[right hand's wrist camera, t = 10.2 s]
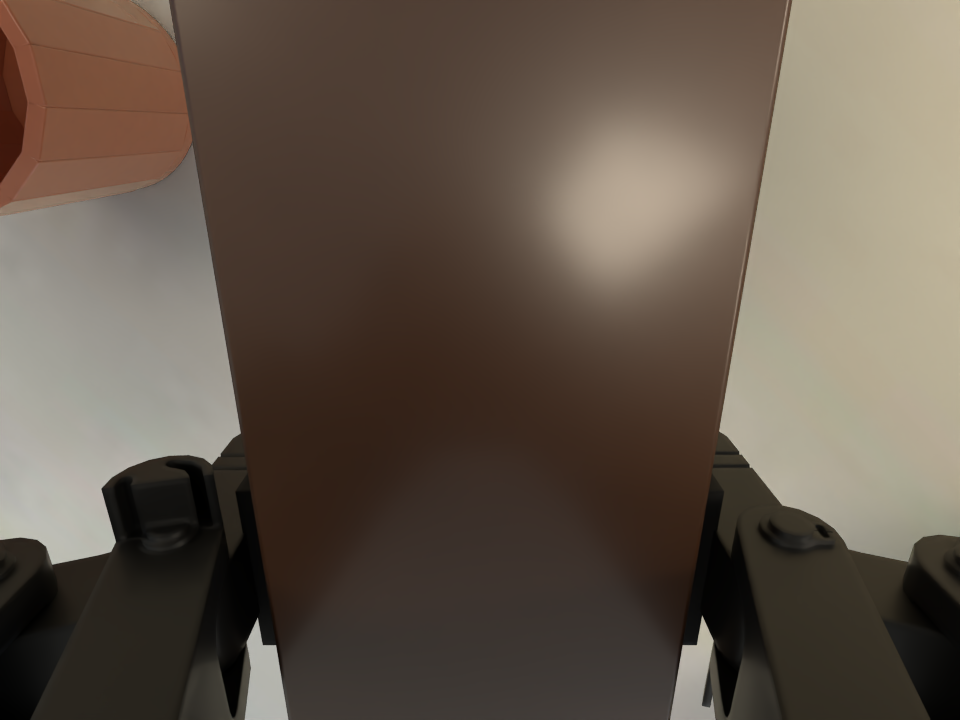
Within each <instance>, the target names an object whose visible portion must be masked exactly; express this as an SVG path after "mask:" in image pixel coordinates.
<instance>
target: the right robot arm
mask: <svg viewBox="0 0 960 720" xmlns="http://www.w3.org/2000/svg"><path fill="white" fill-rule="evenodd" d="M102 493H103V496H104V500H105V504H106V507H107V511H108V514H109V518H110V522H111V525H112V529H113V532H114V536H115V539H116V543H115V545H114V547H113V550H112V552H110V553H106V554H102V555H98V556H93V557H88V558H83V559H78V560H74V561H69V562H64V563H59V564H54V565H52V563H51V560H50V557H49V554H48V551H47V548H46V546H44V545H43V544H42V543H40V542H39V541H38V540H34V539H27V538H13V539H5V540H0V720H245V711H246V703H247V695H248V687H249V678H250V670H251V666H250V659H249V653H248V648H247V640H248V638H249V635H250V633H251V631H252V629H253V627H254V624H255V622H256V620H257V618H258V621H259V626H260V632H261V637H262V643H263V645H276V641H275V635H274V629H273V623H272V617H271V611H270V605H269V599H268V593H267V587H266V581H265V575H264V569H263V563H262V557H261V551H260V545H259V538H258V532H257V526H256V520H255V514H254V508H253V502H252V496H251V490H250V484H249V478H248V472H247V466H246V460H245V454H244V448H243V442H242V436H241V434H239V435H238V436H236V437H235V438H233V439H232V440H231V442H230V443H229V444H228V445H227V447H226V448H225V449H224V451H223V452H222V453H221V457H218V458H217V459H216V461H215V462H214V463H213V464H212V465H211V464H210V463H209V462H207V461H206V460H205V459H203V458H199V457H194V456H189V455H184V456H167V457H162V458H157V459H152V460H148V461H145V462H143V463H140V464H137V465H135V466H132V467H129V468H127V469H126V470H124V471H122V472H121V473H119V474H117V475H116V476H114V477H112V478H111V479H110V480H109V481H108V482H107V483H106V484H105V486H104V487H103V488H102ZM702 616H703V618H704V620H705V622H706V625H707V627H708V629H709V631H710V633H711V635H712V638H713V640H714V642H713V648H712V653H711V658H710V663H709V668H708V673H707V679H706V684H705V689H704V695H703V702H702V706H706V707H710V705H711V700H712V695H713V702H714V710H715V718H716V720H960V537H953V536H945V535H935V536H928V537H923V538H922V539H920V540H919V541H918V542H916V543H915V544H914V547H913V550H912V553H911V556H910V559H909V562H905V561H900V560H895V559H890V558H885V557H880V556H875V555H870V554H865V553H860V552H856V551H852V550H849V549H848V548H847V546H846V544H845V542H844V541H843V539H842V538H841V537H840V536H839V534H838V533H837V532H836V531H835V529H834V528H832V527H831V526H829V525H828V524H826V523H825V522H824V521H822V520H821V519H819V518H818V517H815V516H813V515H811V514H808V513H806V512H804V511H801V510H799V509H795V508H791V507H786V506H782V505H781V503H780V502H779V501H778V500H777V498H776V497H775V496H774V495H773V493H772V492H771V491H770V490H769V488H768V487H767V486H766V485H765V483H764V482H763V481H762V480H761V478H760V477H759V476H758V475H757V473H756V472H755V471H754V470H753V468H750V467H749V463H748V462H747V461H746V460H745V458H744V457H743V456H742V455H739V451H738V450H737V448H736V447H735V446H734V445H733V443H732V442H731V441H730V440H729V439H728V437H727V436H725V435H724V434H722V433H720V432H719V434H718V439H717V445H716V451H715V457H714V463H713V469H712V475H711V481H710V486H709V492H708V498H707V504H706V510H705V516H704V522H703V528H702V534H701V539H700V545H699V551H698V557H697V563H696V569H695V575H694V581H693V586H692V592H691V598H690V604H689V610H688V616H687V622H686V628H685V633H684V639H683V645H697V641H698V635H699V629H700V624H701V618H702Z"/></svg>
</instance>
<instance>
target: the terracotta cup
mask: <svg viewBox="0 0 960 720" xmlns="http://www.w3.org/2000/svg"><path fill="white" fill-rule="evenodd" d="M191 143H192V135H191V129H190V123H189V117H188V111H187V105H186V99H185V93H184V87H183V81H182V75H181V69H180V63H179V57H178V51H177V46H176V44H175V43H174V41H173V40H172V38H171V37H170V36H169V35H168V33H167V32H166V31H165V29H164V28H163V27H162V26H161V25H160V24H159V23H158V22H157V21H156V20H155V19H154V18H153V17H152V16H151V15H149V14H148V13H147V12H146V11H145V10H143V9H142V8H141V7H139V6H138V5H136V4H135V3H133V2H132V1H130V0H0V216H4V215H9V214H15V213H20V212H26V211H31V210H36V209H42V208H47V207H53V206H58V205H63V204H69V203H74V202H80V201H85V200H90V199H96V198H101V197H107V196H112V195H117V194H123V193H128V192H132V191H134V190H136V189H140V188H145V187H148V186H150V185H153V184H155V183H157V182H159V181H161V180H162V179H164V178H166V177H167V176H168V175H169V174H171V173H172V172H173V171H174V170H175V169H176V168H177V167H178V166H179V164H180V163H181V162H182V160H183V159H184V157H185V156H186V154H187V152H188V150H189V148H190V145H191Z"/></svg>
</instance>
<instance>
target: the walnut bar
mask: <svg viewBox="0 0 960 720" xmlns="http://www.w3.org/2000/svg"><path fill="white" fill-rule="evenodd" d="M169 3H170V9H171V15H172V21H173V27H174V33H175V39H176V45H177V51H178V57H179V63H180V69H181V75H182V81H183V87H184V93H185V99H186V105H187V111H188V117H189V123H190V129H191V135H192V141H193V147H194V153H195V159H196V165H197V171H198V177H199V183H200V189H201V195H202V201H203V207H204V213H205V219H206V225H207V231H208V237H209V243H210V249H211V255H212V261H213V268H214V274H215V280H216V286H217V292H218V298H219V304H220V310H221V316H222V322H223V328H224V334H225V340H226V346H227V352H228V358H229V364H230V370H231V376H232V382H233V388H234V394H235V400H236V406H237V412H238V418H239V424H240V430H241V436H242V442H243V448H244V454H245V460H246V466H247V472H248V478H249V484H250V490H251V496H252V502H253V508H254V514H255V520H256V526H257V532H258V538H259V545H260V551H261V557H262V563H263V569H264V575H265V581H266V587H267V593H268V599H269V605H270V611H271V617H272V623H273V629H274V635H275V641H276V647H277V653H278V659H279V665H280V671H281V677H282V683H283V689H284V695H285V701H286V707H287V713H288V719H289V720H670V716H671V710H672V704H673V698H674V692H675V686H676V681H677V675H678V669H679V663H680V657H681V651H682V645H683V639H684V633H685V628H686V622H687V616H688V610H689V604H690V598H691V592H692V586H693V581H694V575H695V569H696V563H697V557H698V551H699V545H700V539H701V534H702V528H703V522H704V516H705V510H706V504H707V498H708V492H709V486H710V481H711V475H712V469H713V463H714V457H715V451H716V445H717V439H718V434H719V428H720V422H721V416H722V410H723V404H724V398H725V392H726V387H727V381H728V375H729V369H730V363H731V357H732V351H733V345H734V339H735V334H736V328H737V322H738V316H739V310H740V304H741V298H742V292H743V287H744V281H745V275H746V269H747V263H748V257H749V251H750V245H751V239H752V234H753V228H754V222H755V216H756V210H757V204H758V198H759V192H760V187H761V181H762V175H763V169H764V163H765V157H766V151H767V145H768V140H769V134H770V128H771V122H772V116H773V110H774V104H775V98H776V92H777V87H778V81H779V75H780V69H781V63H782V57H783V51H784V45H785V40H786V34H787V28H788V22H789V16H790V10H791V4H792V0H169Z"/></svg>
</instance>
